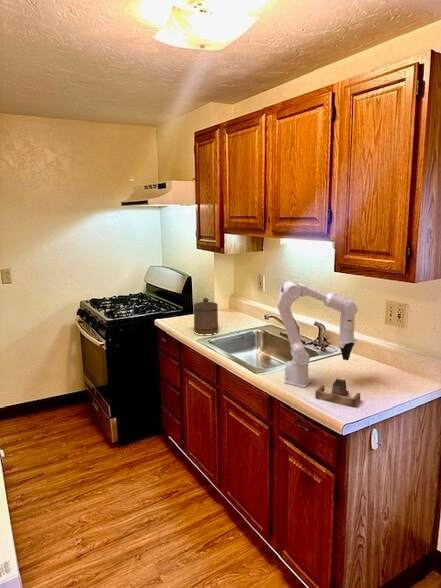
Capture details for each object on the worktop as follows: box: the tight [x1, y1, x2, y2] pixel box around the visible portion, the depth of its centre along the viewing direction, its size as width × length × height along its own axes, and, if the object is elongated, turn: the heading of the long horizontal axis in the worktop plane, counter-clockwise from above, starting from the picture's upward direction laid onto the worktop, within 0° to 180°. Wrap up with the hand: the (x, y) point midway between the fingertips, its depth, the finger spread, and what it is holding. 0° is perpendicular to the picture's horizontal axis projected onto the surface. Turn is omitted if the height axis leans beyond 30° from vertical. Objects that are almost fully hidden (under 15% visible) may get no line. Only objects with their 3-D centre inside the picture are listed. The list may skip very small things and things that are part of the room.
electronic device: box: [331, 377, 349, 397], centre depth 161 cm, size 4×10×8 cm, turn 147°
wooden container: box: [193, 297, 219, 334], centre depth 252 cm, size 15×15×22 cm
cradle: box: [314, 384, 361, 408], centre depth 159 cm, size 15×7×3 cm, turn 56°
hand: (345, 359), depth 174 cm, fingers closed
